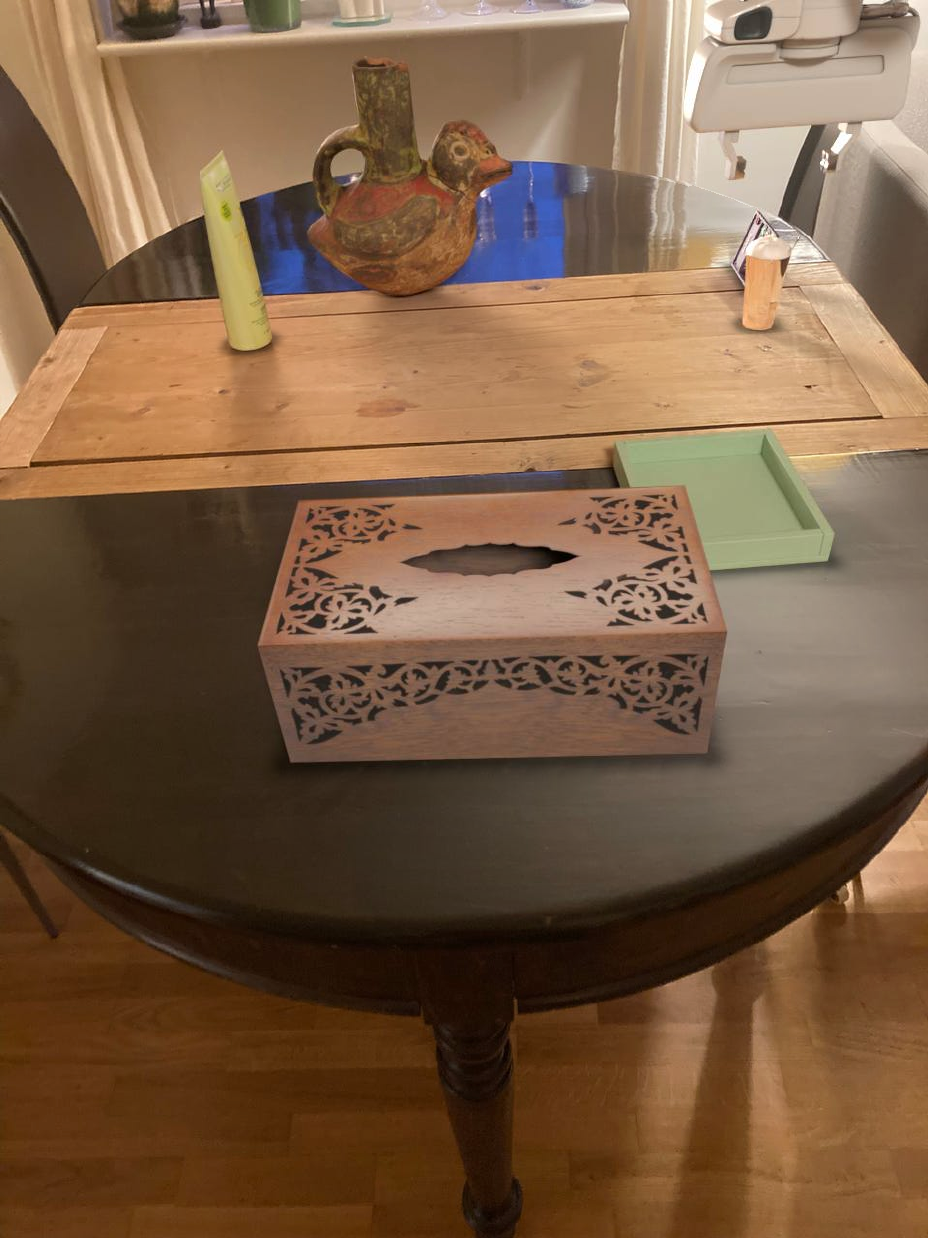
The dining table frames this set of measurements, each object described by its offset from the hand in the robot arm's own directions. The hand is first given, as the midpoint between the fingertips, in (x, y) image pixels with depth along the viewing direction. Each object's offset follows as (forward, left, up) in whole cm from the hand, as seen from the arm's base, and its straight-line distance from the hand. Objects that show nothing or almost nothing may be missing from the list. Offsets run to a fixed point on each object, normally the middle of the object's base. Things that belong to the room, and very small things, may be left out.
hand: (781, 174), depth 91 cm
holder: (+14, +34, -16) cm, 40 cm away
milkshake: (0, 0, -16) cm, 16 cm away
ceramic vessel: (+38, -19, -16) cm, 45 cm away
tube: (+57, -6, -16) cm, 59 cm away
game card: (-4, -13, -16) cm, 21 cm away
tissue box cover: (+33, +51, -16) cm, 63 cm away
